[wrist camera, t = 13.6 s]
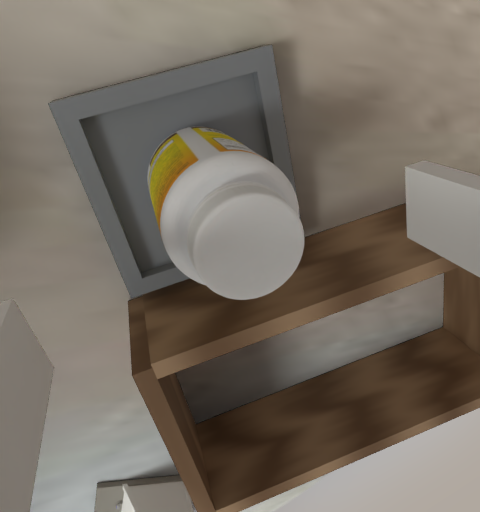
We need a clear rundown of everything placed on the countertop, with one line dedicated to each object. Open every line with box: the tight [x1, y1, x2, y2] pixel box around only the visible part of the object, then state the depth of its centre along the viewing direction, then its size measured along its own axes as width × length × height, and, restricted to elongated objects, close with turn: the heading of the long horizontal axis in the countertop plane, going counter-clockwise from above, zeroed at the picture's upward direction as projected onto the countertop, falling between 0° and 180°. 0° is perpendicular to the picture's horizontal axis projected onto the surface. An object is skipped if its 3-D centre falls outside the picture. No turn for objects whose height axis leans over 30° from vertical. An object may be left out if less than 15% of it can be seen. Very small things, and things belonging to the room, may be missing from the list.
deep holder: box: [128, 203, 480, 512], centre depth 27 cm, size 24×14×7 cm, turn 103°
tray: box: [48, 45, 301, 298], centre depth 22 cm, size 11×11×2 cm
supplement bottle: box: [147, 126, 304, 300], centre depth 18 cm, size 6×6×10 cm
